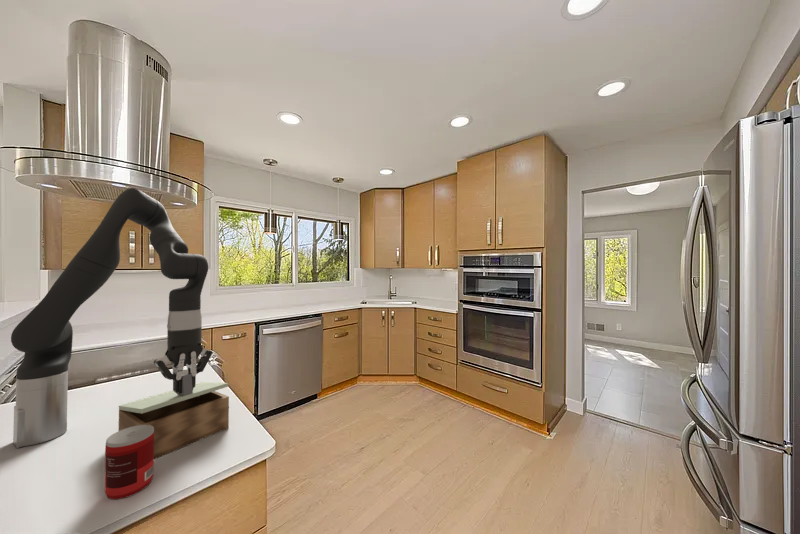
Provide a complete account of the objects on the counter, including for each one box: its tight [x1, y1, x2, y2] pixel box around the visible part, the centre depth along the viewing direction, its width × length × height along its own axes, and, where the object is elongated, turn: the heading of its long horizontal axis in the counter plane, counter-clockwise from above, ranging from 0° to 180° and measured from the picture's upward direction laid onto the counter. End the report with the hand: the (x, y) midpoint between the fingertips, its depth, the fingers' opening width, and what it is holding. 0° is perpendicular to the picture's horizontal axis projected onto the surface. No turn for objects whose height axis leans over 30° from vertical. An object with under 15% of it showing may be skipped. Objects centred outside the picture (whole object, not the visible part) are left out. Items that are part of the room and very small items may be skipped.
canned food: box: [104, 425, 155, 500], centre depth 63 cm, size 8×8×11 cm
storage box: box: [118, 390, 230, 461], centre depth 83 cm, size 20×16×9 cm
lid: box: [118, 374, 229, 414], centre depth 84 cm, size 20×16×6 cm
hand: (184, 391), depth 81 cm, fingers closed on lid, 2 cm apart
